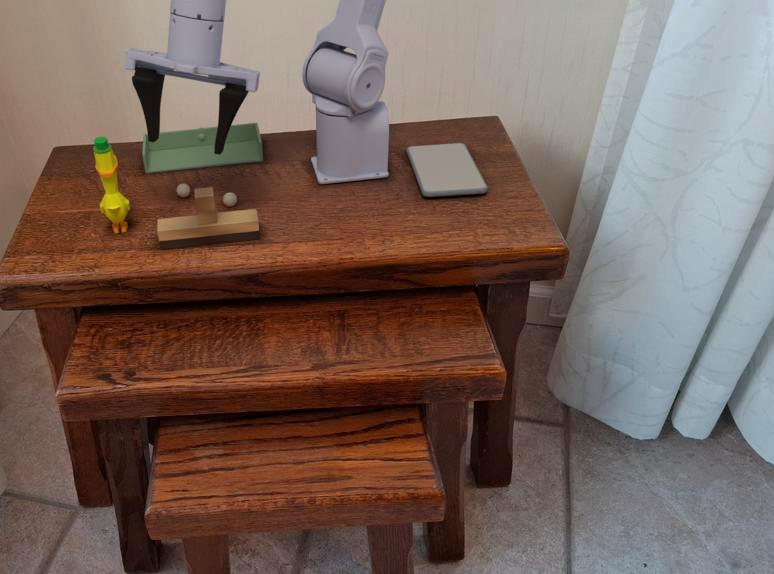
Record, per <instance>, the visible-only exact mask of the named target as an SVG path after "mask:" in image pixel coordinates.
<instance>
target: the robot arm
mask: <svg viewBox="0 0 774 574" xmlns="http://www.w3.org/2000/svg"><path fill="white" fill-rule="evenodd" d="M169 5H170V7H169V24H168V37H167V49H166V50H167V52H162V51H161V52H160V51H153V50H145V49H138V48H133V47H130V48H129V49H126V50H125V62H124V63H125V64H124V69H125V70H128V71H134V74H133V75H132V76H131V83H132V86H133V88H134V91H135V92H136V95H137V97H138V100H139V102H140V105H141V109H142V112H143V113H142V114H143V116H144V120H145V126H146V132H147V133H146V134H148V141H149V142H155V141H156V140H158V139H159V132H161V106H162V96H163V90H164V84H165V77H166V76H168V77H169V76H170V77H175V78H180V79H185V80H186V79H187V80H192V81H196V82H197V81H198V82H203V83H208V84H212V85H213V84H214V85H219V86H224V87H223V88H221V89H220V90H219V93H218V94H219V95H218V119H217V120H218V121H217V127H218V128H217V134H216V140H215V147H214V154H219V155H220V154H221V153H222V152H223V150H224V145H225V141H226V138H227V135H228V132H229V130H230V127H231V125H233V122H234V120H235V118H236V116H237V113H238V111H239V110H240V109H241V106H242V105H243V103H244V101H245V99H246V97H247V96H248V95H249V92H251V93H256V92H257V91H258V90H259V83H260V76H261V71H260V70H255V69H250V68H245V67H241V66H239V65H238V66H237V65H234V64H230V63H226V62H221V54H222V45H223V34H224V26H225V25H224V24H225V15H226V5H227V0H170V4H169ZM385 5H386V0H339V1H338V4H337V9H336V12H335V16H334V19H333V20H332V21H330V22H329V23H328V24H327V25H326V26H324V27H323V28H322V29H320V30H319V31H318V32H317V34H316V38H315V41H314V45H313V46H312V49H311V50H310V51H309V52H308V54H307V56H306V58H305V60H304V63H303V67H302V73H301V74H302V75H301V77H302V83H303V86H304V88H305V90H306V91H307V92H308V93H309V94H311V100H312V104H314V106H315V134H316V135H315V137H316V156H312V157H311V158H310V162H311V165H312V169H313V171H314V174H315V177H316V180H317V183H318V184H319V185H327V184H337V183H347V182H356V181H366V180H375V179H377V180H378V179H386V178H389V176H390V173H389V171H388V170H389V145H390V120H389V111H388V108H387V104H386V102H385V101H379V100H380V98H381V97H382V94H383V92H384V89H385V85H386V64H387V60H388V58H389V51H388V48H387V47H386V45H385V43H384V42H383V40H382V38H381V36H380V34H379V32H378V29H379V26H380V22H381V19H382V16H383V13H384V12H383V11H384V9H385ZM346 49H351V50H352V51H354V52H355V53H352V52H349V51H346Z"/></svg>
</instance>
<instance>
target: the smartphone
mask: <svg viewBox="0 0 774 574" xmlns="http://www.w3.org/2000/svg"><path fill="white" fill-rule="evenodd" d="M405 150H406V151H405V152H406V155H407V158H408V160H409V164H410V165H411V168H412V171H413V174H414V176H415V179H416V182H417V184H418V187H419V189H420V192H421V195H422V196H423V197H425V198H435V197H437V198H438V197H451V196H466V195H468V196H469V195H482V194H486V193H487V192H488V190H489V187H488V184H487V183H486V180H485V179H484V177H483V175H482V173H481V171H480V169H479V167H478V165H477V163H476V161H475V160H474V158H473V156H472V154H471V153H470V150H469V149H468V147H467V145H466V144H465V143H462V142H453V143H439V144H437V143H436V144H425V145H424V144H423V145H422V144H421V145H411V146H410V145H409V146H408V147H407V148H406V149H405Z"/></svg>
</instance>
